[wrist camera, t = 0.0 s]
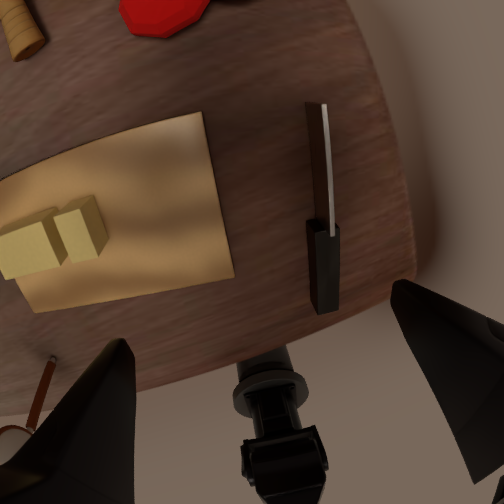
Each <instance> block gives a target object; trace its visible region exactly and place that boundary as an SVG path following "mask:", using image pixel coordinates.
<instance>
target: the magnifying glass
mask: <svg viewBox="0 0 504 504" xmlns="http://www.w3.org/2000/svg"><path fill="white" fill-rule="evenodd" d="M55 362H56V359H55V358H54V357H53V358H51V359H50V361H48V362H47V365H46V367H45V370H44V373H43V375H42V378H41V381H40V383H39V386H38V389H37V392H36V395H35V398H34V401H33V404H32V407H31V410H30V413H29V417H28V420H27V424H26V428H27V429H25V428H23V427H20V426H16V425H8V426H4V427H2V428H0V465H1V464H4V463H5V462H7V461H8V460H10V459H11V458H12V457H13V455H14V454H15V453H16V452H17V451H18V450H19V449H20V448H21V447H22V446H23V445H24V443H25V442H26V441H27V440H28V439H29V438H30V437H31V436H32V435H33V434H32V433H33V431H35V430H36V426H37V422H38V418H39V415H40V412H41V409H42V405H43V402H44V399H45V396H46V393H47V390H48V387H49V384H50V381H51V378H52V375H53V372H54V370H55V367H56V364H55Z"/></svg>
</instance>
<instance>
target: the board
mask: <svg viewBox="0 0 504 504" xmlns="http://www.w3.org/2000/svg"><path fill="white" fill-rule="evenodd" d="M91 195H94V198H95V201H96V204H97V207H98V210H99V213H100V216H101V219H102V222H103V225H104V227H105V230H106V233H107V235H108V238H109V240H108V242H107V243H106V245H105V247H104V249H103V250H102V252H101V254H100V256H99V257H98V258H94V259H90V260H85V261H81V262H77V263H72V261H71V259H70V257H69V255H68V256H67V258H66V259H65V260H64V262H63V263H62V265H61V266H60V267H56V268H52V269H48V270H44V271H40V272H36V273H32V274H28V275H24V276H20V277H16V278H15V280H16V282H17V284H18V286H19V287H20V289H21V291H22V293H23V295H24V296H25V298H26V300H27V302H28V303H29V305H30V307H31V308H32V310H33V312H34V313H41V312H47V311H53V310H59V309H65V308H71V307H77V306H83V305H89V304H95V303H101V302H106V301H112V300H118V299H123V298H129V297H134V296H140V295H145V294H151V293H156V292H162V291H167V290H172V289H178V288H183V287H188V286H193V285H199V284H204V283H209V282H214V281H219V280H224V279H229V278H234V277H235V273H234V268H233V263H232V259H231V254H230V250H229V245H228V240H227V235H226V231H225V226H224V221H223V217H222V212H221V207H220V202H219V197H218V192H217V187H216V183H215V178H214V173H213V168H212V163H211V158H210V153H209V147H208V142H207V137H206V132H205V127H204V122H203V116H202V112H201V111H199V112H194V113H190V114H185V115H181V116H177V117H173V118H168V119H164V120H161V121H157V122H153V123H149V124H146V125H142V126H138V127H135V128H132V129H128V130H125V131H122V132H118V133H115V134H112V135H109V136H106V137H103V138H100V139H97V140H94V141H91V142H89V143H86V144H83V145H80V146H78V147H75V148H72V149H70V150H67V151H65V152H62V153H60V154H57V155H55V156H52V157H50V158H47V159H45V160H43V161H40V162H38V163H36V164H34V165H31V166H29V167H27V168H25V169H23V170H21V171H18V172H16V173H14V174H12V175H10V176H8V177H6V178H4V179H2V180H0V229H1V228H2V227H3V226H6V225H8V224H11V223H13V222H16V221H18V220H21V219H24V218H26V217H29V216H32V215H34V214H37V213H40V212H43V211H45V210H48V209H51V208H54V207H57V209H58V212H59V211H60V210H61V209H62V208H63V207H64V206H65V205H66V204H67V203H69V202H72V201H75V200H78V199H81V198H84V197H87V196H91Z"/></svg>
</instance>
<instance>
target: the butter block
mask: <svg viewBox="0 0 504 504" xmlns="http://www.w3.org/2000/svg"><path fill="white" fill-rule="evenodd" d="M57 213H58V209H57V207H54V208H51V209H48V210H45V211H43V212H40V213H37V214H34V215H32V216H29V217H26V218H24V219H21V220H18V221H16V222H13V223H11V224H8V225H6V226H3V227H2V228H1V229H0V270H1V272H2V274H3V276H4V278H5V280H8V279H12V278H16V277H20V276H24V275H28V274H32V273H36V272H40V271H44V270H48V269H52V268H56V267H60V266H61V265H62V263H63V262H64V260H65V259H66V258H67V256H68V252H67V250H66V248H65V246H64V243H63V241H62V238H61V236H60V234H59V231H58V229H57V226H56V224H55V221H54V218H53V217H54V216H55V215H56V214H57Z"/></svg>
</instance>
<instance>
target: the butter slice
mask: <svg viewBox="0 0 504 504" xmlns="http://www.w3.org/2000/svg"><path fill="white" fill-rule="evenodd" d="M53 218H54V221H55V224H56V226H57V229H58V231H59V234H60V236H61V238H62V241H63V243H64V246H65V248H66V250H67V252H68V255H69V257H70V259H71V261H72V263H77V262H81V261H85V260H90V259H94V258H98V257H99V256H100V254H101V252H102V250H103V249H104V247H105V245H106V243H107V242H108V240H109V238H108V235H107V233H106V230H105V227H104V225H103V222H102V219H101V216H100V213H99V210H98V207H97V204H96V201H95V198H94V195H91V196H87V197H84V198H81V199H78V200H75V201H72V202H69V203H67V204H66V205H65V206H64V207H63V208H62V209H61V210H60V211H59V212H58V213H57V214H56V215H55V216H54V217H53Z"/></svg>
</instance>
